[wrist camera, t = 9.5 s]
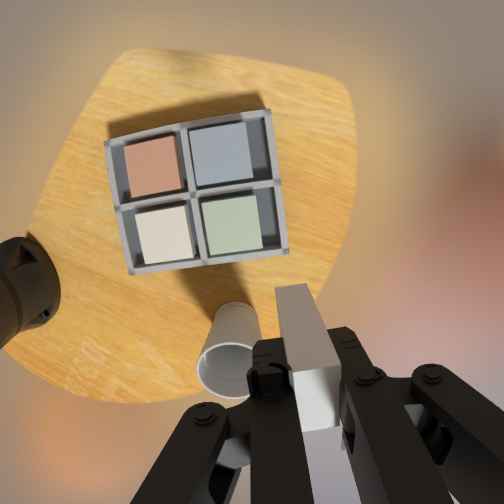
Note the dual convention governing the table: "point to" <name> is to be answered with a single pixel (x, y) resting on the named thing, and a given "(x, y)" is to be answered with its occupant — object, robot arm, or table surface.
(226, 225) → the key sage
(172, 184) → the key terracotta
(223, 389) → the cup
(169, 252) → the key cream
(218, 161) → the key slate
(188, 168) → the keypad base
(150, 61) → the table surface
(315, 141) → the table surface
